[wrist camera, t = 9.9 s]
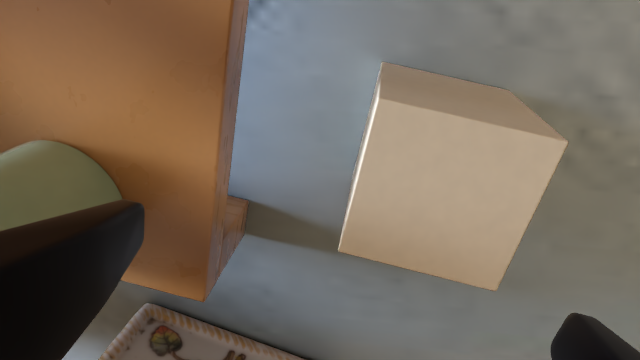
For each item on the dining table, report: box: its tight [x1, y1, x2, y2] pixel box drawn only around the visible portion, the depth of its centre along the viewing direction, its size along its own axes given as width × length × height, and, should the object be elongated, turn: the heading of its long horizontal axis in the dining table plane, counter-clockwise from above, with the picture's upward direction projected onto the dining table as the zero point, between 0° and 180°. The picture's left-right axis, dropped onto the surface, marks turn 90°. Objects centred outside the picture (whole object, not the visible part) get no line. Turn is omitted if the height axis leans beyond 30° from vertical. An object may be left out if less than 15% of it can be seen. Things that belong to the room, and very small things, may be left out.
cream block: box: [338, 62, 569, 291], centre depth 15 cm, size 5×5×6 cm
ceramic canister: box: [0, 140, 123, 231], centre depth 13 cm, size 5×5×5 cm
